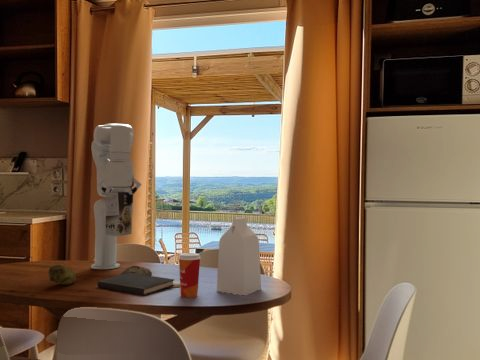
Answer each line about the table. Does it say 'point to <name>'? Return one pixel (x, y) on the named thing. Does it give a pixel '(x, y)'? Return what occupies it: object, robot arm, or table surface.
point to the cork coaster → (176, 285)
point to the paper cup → (189, 274)
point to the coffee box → (118, 214)
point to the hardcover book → (136, 283)
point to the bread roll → (137, 270)
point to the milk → (239, 260)
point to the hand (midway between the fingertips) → (119, 204)
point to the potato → (61, 274)
